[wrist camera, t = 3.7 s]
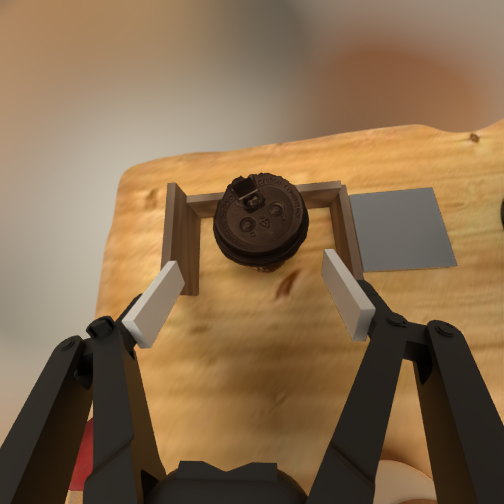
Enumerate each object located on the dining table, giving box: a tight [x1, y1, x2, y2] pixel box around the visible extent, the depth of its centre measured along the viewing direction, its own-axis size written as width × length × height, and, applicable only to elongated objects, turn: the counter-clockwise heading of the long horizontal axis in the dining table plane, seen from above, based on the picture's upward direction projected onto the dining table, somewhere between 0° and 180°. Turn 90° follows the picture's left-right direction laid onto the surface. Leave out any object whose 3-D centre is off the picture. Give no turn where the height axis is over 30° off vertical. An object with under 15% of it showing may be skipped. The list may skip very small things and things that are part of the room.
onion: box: [69, 418, 93, 491], centre depth 20 cm, size 6×6×8 cm
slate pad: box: [348, 187, 458, 272], centre depth 25 cm, size 11×11×1 cm
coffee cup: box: [213, 173, 309, 273], centre depth 21 cm, size 9×8×13 cm
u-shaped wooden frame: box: [161, 181, 364, 296], centre depth 23 cm, size 22×13×8 cm, turn 93°
